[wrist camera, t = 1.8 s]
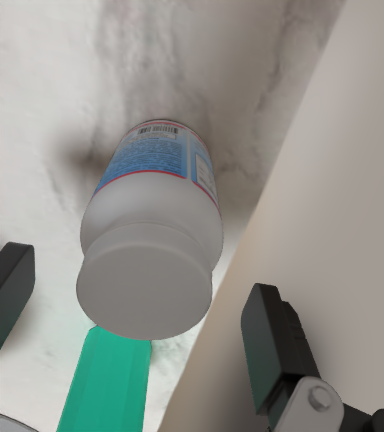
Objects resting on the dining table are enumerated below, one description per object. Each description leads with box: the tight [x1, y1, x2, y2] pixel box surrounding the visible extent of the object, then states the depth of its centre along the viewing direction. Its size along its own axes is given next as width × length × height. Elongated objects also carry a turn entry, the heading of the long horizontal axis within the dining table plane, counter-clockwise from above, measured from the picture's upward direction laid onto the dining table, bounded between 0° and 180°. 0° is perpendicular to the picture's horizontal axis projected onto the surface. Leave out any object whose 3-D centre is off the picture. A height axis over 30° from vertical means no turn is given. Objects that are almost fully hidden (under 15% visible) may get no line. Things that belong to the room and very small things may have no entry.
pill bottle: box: [76, 120, 224, 340], centre depth 16 cm, size 6×6×11 cm
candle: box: [56, 326, 151, 432], centre depth 25 cm, size 6×6×12 cm
